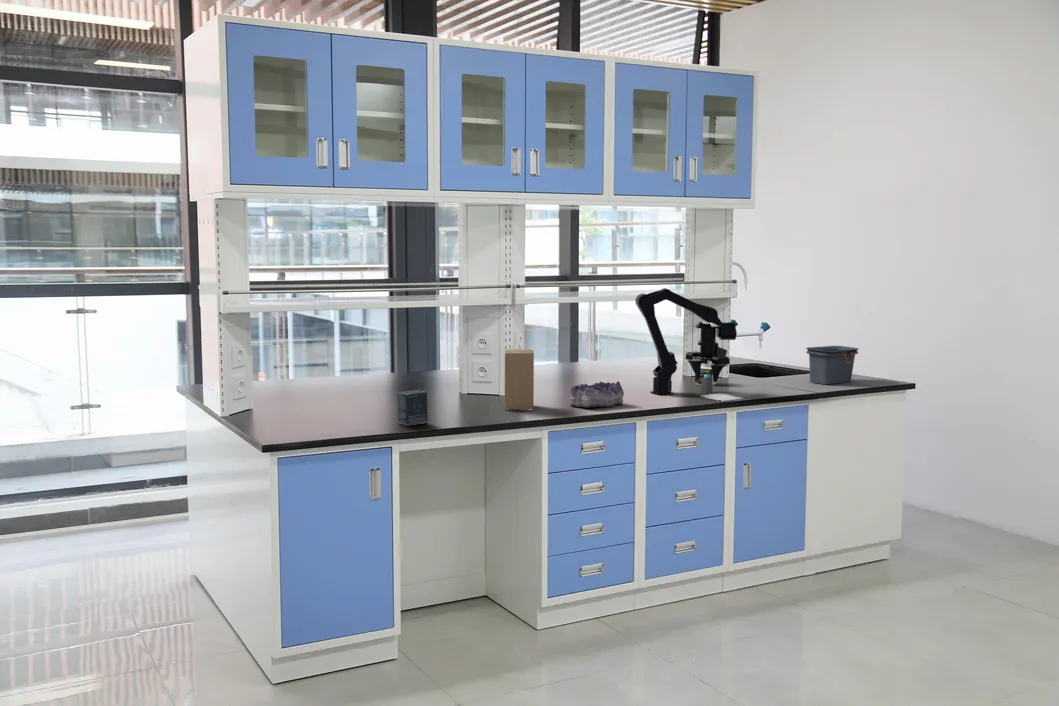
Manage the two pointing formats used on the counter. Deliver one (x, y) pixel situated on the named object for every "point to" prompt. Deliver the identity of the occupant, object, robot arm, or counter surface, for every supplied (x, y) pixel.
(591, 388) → the geode
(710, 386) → the grey bottle
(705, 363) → the medicine bottle
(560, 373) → the counter surface
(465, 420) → the counter surface
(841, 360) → the storage bin
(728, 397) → the notepad
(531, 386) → the wooden block
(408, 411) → the box
